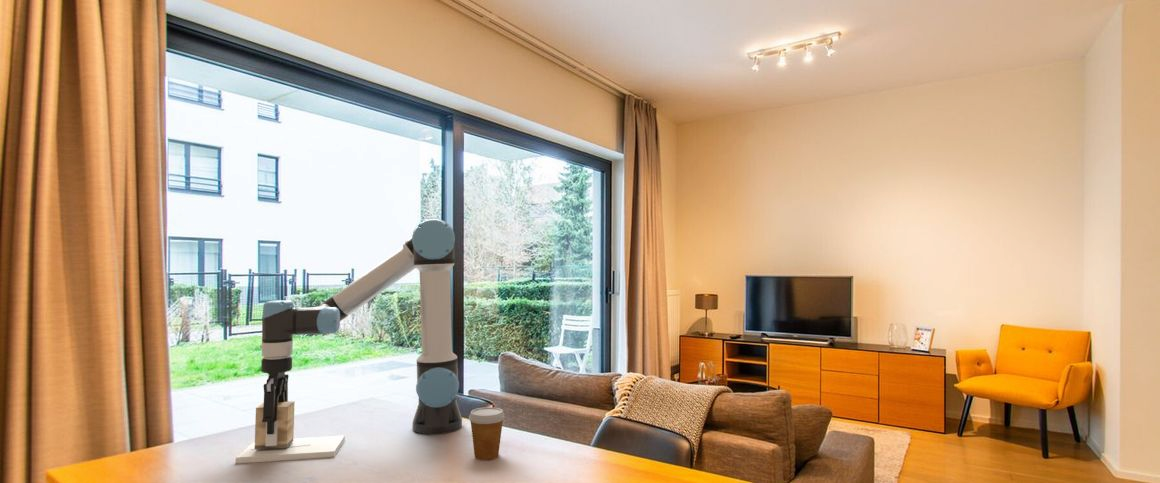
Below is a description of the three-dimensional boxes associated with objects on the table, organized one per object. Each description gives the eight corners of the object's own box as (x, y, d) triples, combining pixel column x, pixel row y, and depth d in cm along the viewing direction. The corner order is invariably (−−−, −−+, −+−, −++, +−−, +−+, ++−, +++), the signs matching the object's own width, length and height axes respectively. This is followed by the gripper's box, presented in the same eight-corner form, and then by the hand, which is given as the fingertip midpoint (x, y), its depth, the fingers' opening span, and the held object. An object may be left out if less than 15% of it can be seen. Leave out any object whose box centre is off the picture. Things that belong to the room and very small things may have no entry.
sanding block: (293, 440, 160) (294, 401, 160) (286, 447, 154) (288, 406, 155) (262, 442, 158) (263, 402, 159) (254, 449, 153) (255, 407, 153)
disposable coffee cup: (510, 452, 156) (510, 408, 157) (494, 464, 147) (494, 417, 148) (479, 448, 159) (479, 405, 160) (461, 460, 150) (462, 414, 151)
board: (344, 440, 167) (344, 435, 167) (334, 456, 153) (334, 451, 153) (254, 446, 162) (254, 440, 162) (235, 463, 148) (235, 457, 148)
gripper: (273, 351, 166) (271, 432, 165) (249, 363, 147) (247, 454, 146) (301, 351, 167) (299, 430, 167) (281, 362, 149) (279, 452, 148)
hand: (275, 441), depth 156 cm, fingers closed on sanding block, 6 cm apart
